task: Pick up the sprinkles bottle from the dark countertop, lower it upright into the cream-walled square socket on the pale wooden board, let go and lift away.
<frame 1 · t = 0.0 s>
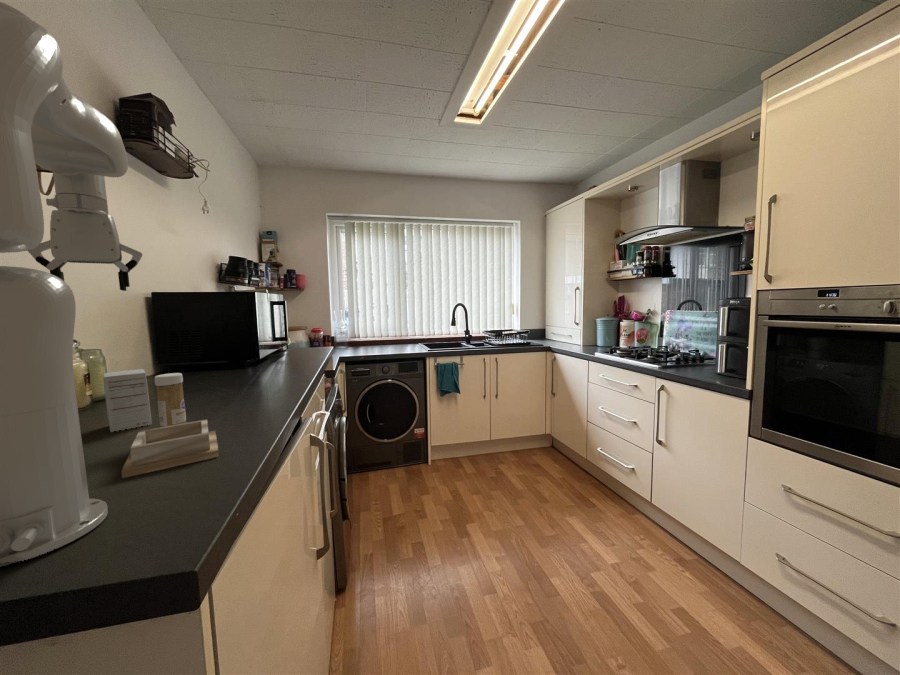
hand: (93, 290, 77), 31 cm above the table, tool pointing down, fingers open, 9 cm apart
socket board: (175, 454, 66), on the table
supplement box: (130, 426, 85), on the table
sprinkles bottle: (175, 439, 75), on the table
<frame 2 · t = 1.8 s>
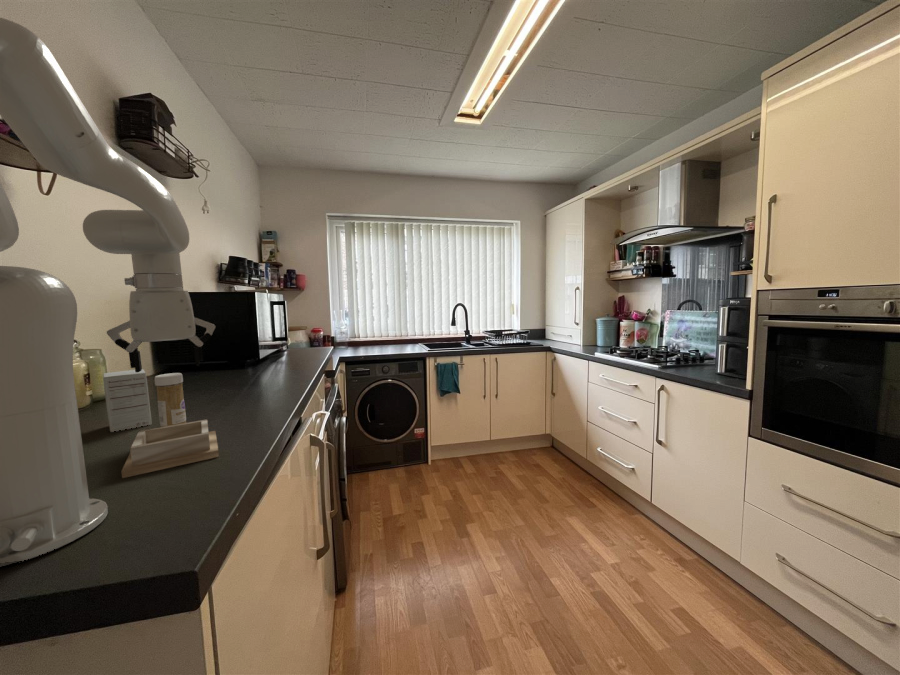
hand: (169, 367, 74), 15 cm above the table, tool pointing down, fingers open, 9 cm apart
nothing on the table moved.
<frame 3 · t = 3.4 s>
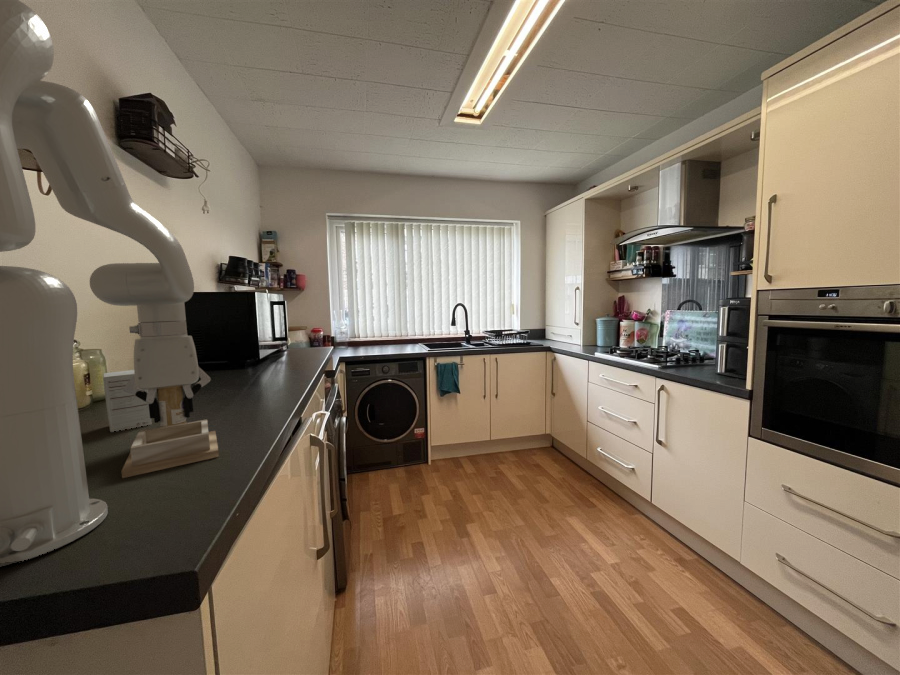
hand: (172, 417, 75), 4 cm above the table, tool pointing down, fingers closed on sprinkles bottle, 4 cm apart
sprinkles bottle: (175, 439, 75), on the table, touching gripper
everything else where it was.
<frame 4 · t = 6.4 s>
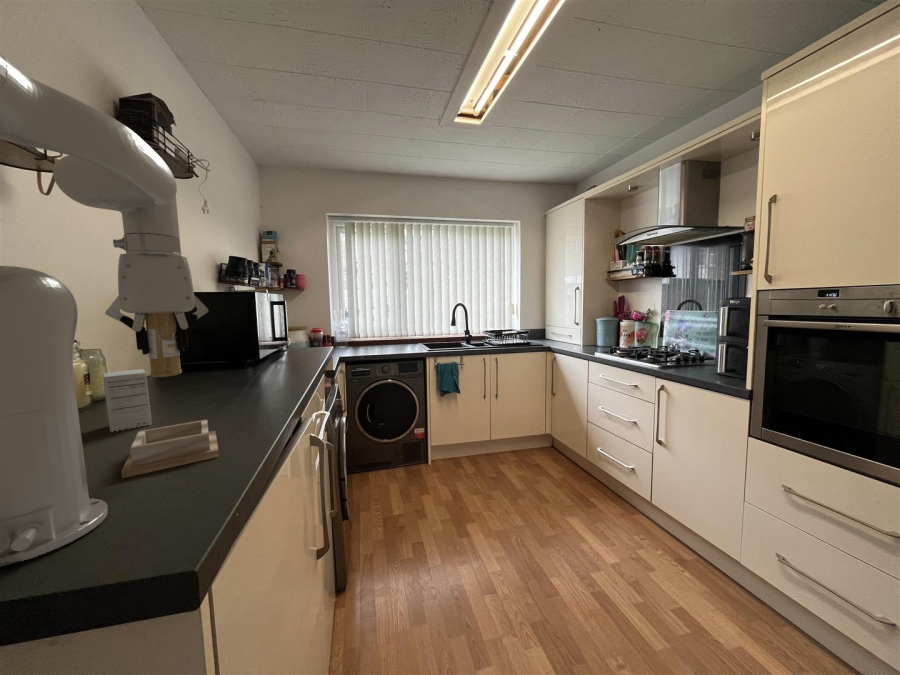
hand: (164, 351, 65), 19 cm above the table, tool pointing down, fingers closed on sprinkles bottle, 4 cm apart
sprinkles bottle: (166, 376, 65), point 15 cm above the table, touching gripper
everything else where it was.
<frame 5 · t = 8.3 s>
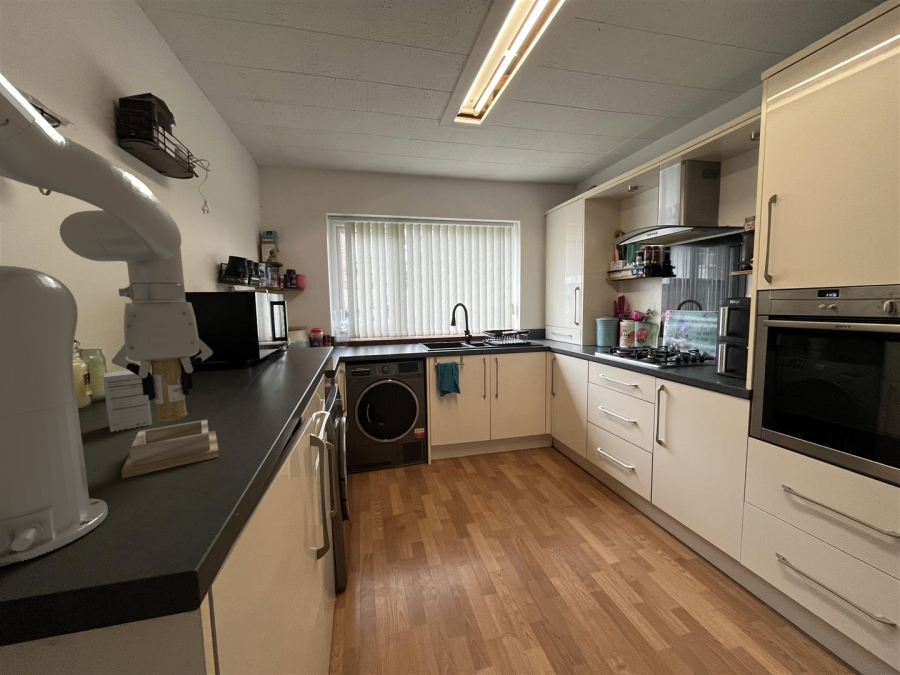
hand: (169, 395, 66), 11 cm above the table, tool pointing down, fingers closed on sprinkles bottle, 4 cm apart
sprinkles bottle: (172, 419, 66), point 7 cm above the table, touching gripper
everything else where it was.
when the fingers open (6 cm above the table, at t = 9.8 s): sprinkles bottle stays where it is, resting on socket board.
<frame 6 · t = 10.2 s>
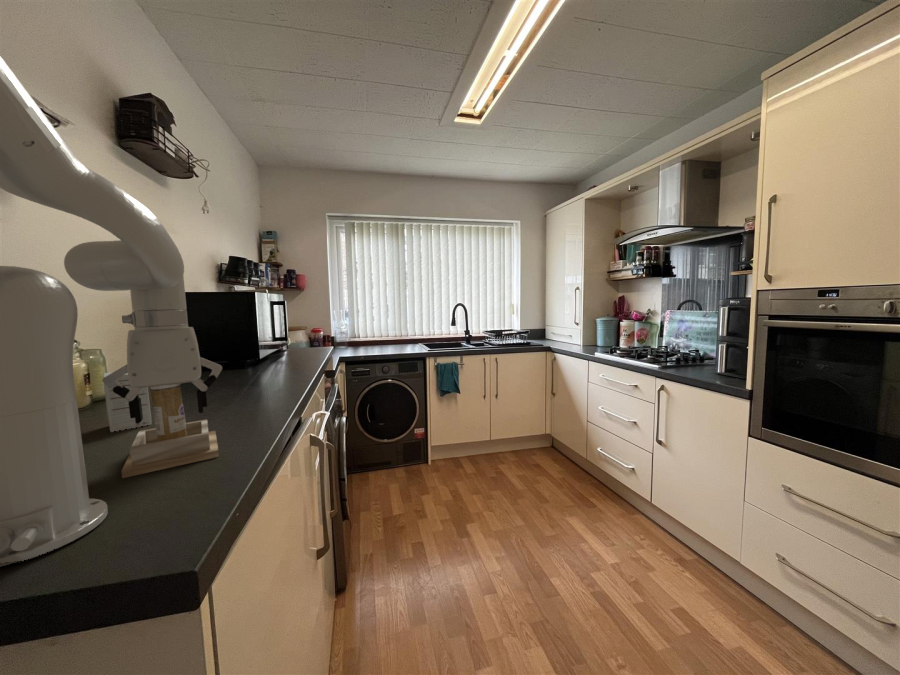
hand: (171, 415, 66), 7 cm above the table, tool pointing down, fingers open, 8 cm apart
sprinkles bottle: (174, 449, 66), point 1 cm above the table, touching socket board
everything else where it was.
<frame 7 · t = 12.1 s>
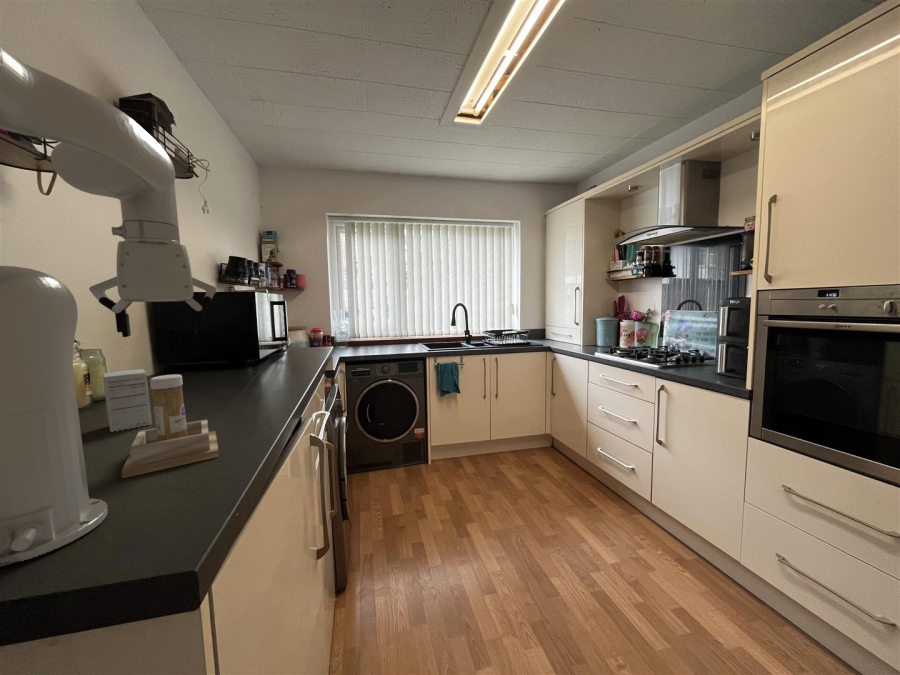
hand: (162, 334, 64), 22 cm above the table, tool pointing down, fingers open, 9 cm apart
nothing on the table moved.
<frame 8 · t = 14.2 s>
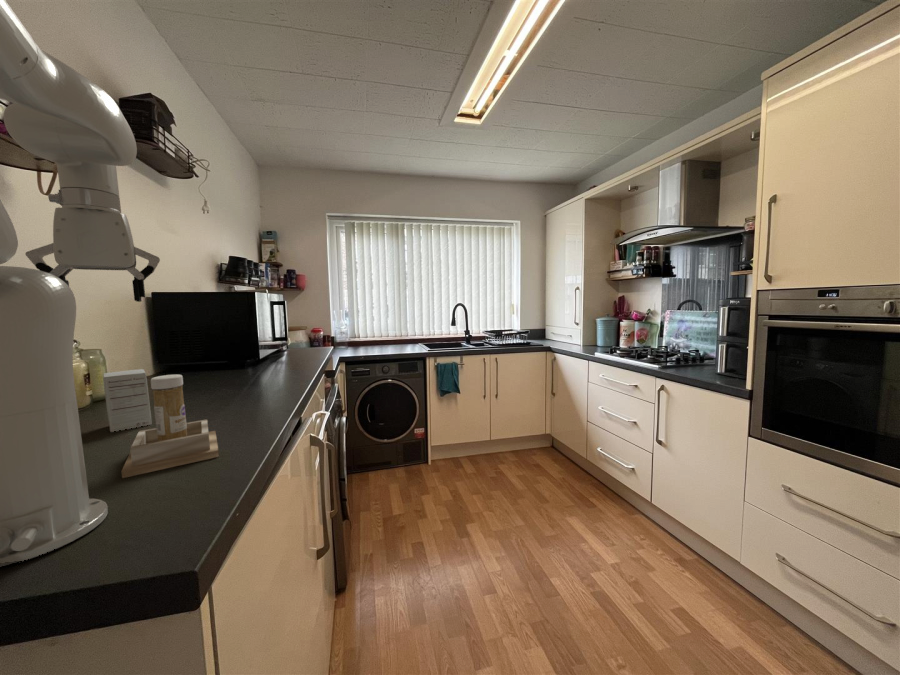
hand: (103, 301, 66), 28 cm above the table, tool pointing down, fingers open, 9 cm apart
nothing on the table moved.
at the end: sprinkles bottle 0.1 cm off-centre on the socket board, point 1.0 cm above the socket board's base; sprinkles bottle tilted 0°; the gripper is holding nothing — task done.
